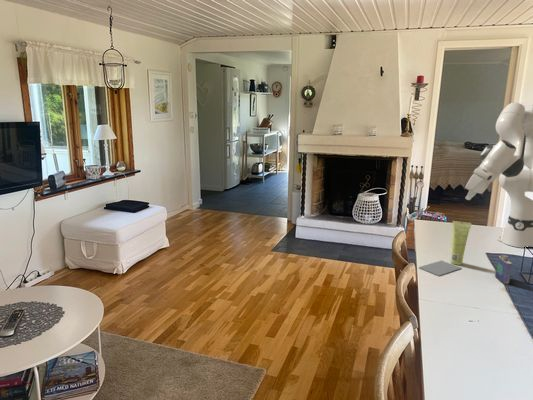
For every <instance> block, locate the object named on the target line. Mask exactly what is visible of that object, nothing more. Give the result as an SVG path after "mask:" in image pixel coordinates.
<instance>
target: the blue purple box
mask: <svg viewBox="0 0 533 400" xmlns="http://www.w3.org/2000/svg"><path fill="white" fill-rule="evenodd" d="M508 258H509V256H508V255H504V254H502V255H498V258H497V264H496V265H497V266H496V270H495V274H494V276H495V278H496V279H497V281H499V282H500V283H502V284H504V285H509V283H510V279H511V271H512V266H513V263H512V262H511V261H510V260H508Z"/></svg>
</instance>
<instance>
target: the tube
mask: <svg viewBox="0 0 533 400" xmlns="http://www.w3.org/2000/svg"><path fill="white" fill-rule="evenodd" d="M471 226H472V222H464V221H455V220H452V237H451V241H452V242H451V250H450V251H451V252H450V261H449V263H450V264H452V265H455V266H459V265H462V264H463V259H464V256H465V249H466V245H467V241H468V237H469V233H470V229H471Z"/></svg>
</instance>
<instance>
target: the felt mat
mask: <svg viewBox="0 0 533 400" xmlns="http://www.w3.org/2000/svg"><path fill="white" fill-rule="evenodd" d="M462 268H463V267H460V266H459V265H456V264H452V263H451V262H446V261H444V260H438V261H435V262H432V263H428V264H424V265H422V266H418V269H420V270H422V271H425V272H427V273H430V274H432V275H434V276H437V277H441V276H443V275H446V274H447V275H448V274H450V273H452V272H453V273H454V272H457V271H459V270H462Z"/></svg>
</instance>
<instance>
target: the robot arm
mask: <svg viewBox="0 0 533 400" xmlns="http://www.w3.org/2000/svg"><path fill="white" fill-rule="evenodd" d="M495 132H496V134H497V135H499V136H500V138H502V139H501V140H500V139H499V141H498V142H497V143H496V144H489V145H486V146H485V147H484V149H483V150H482V151H481V152H480V154H479V159H480V161H481V163H480V164H479V166H478V167H476V168H475V169H474V170H473V174H471V176H470V178H469V179H468V182H467V183H466V185H465V187H464V189H466V190H468V192H467V194H466V196H465V197H464V198H465V200H467V201H471V200H472V198H473V197H475V196H476V194H481V195H482V194H483V193H484V192H485V191H486V190H487V188H488V187H489V185H490V184H491V183H494V182H495V181H496V179H497V178H498V183H499V186H500V187H501V188H502V189H503V190H505V191H506V193H507V195H508V197H510V210H509V211H510V213H509V216H508V218H507V224H505V225H504V226H503V229H502V233H501V236H499V237H497V239H496V240H497V241H498V242H502V243H503V244H505V245H508V246H510V247H515V248H521V249H525V248H524V247H525V246H533V199H531V198H530V197H527V196H526V192H527V193H528V192H529V193H533V104H530V105H523V103H520V102H511V103H508V104H507V105H506V106H505V107H504V108H503V109H502V110H501V112H500V114H499V116H498V117H497V119H496V122H495ZM524 167H527V169H524Z"/></svg>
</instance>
